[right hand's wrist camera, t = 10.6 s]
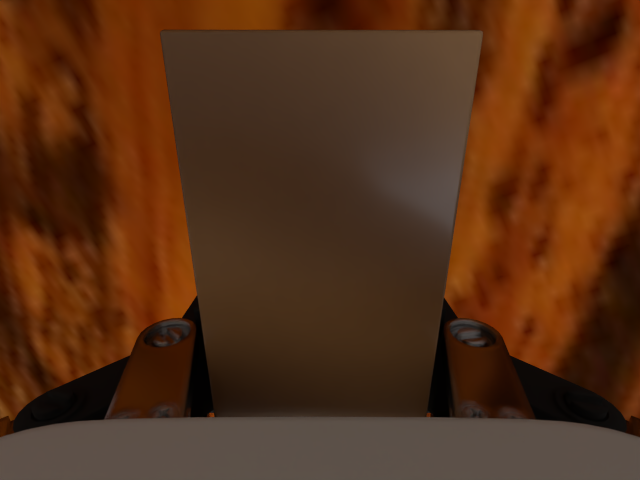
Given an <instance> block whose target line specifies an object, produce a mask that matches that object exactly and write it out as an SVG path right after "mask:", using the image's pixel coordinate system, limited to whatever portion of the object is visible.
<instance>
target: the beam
mask: <svg viewBox="0 0 640 480" xmlns="http://www.w3.org/2000/svg"><path fill="white" fill-rule="evenodd" d="M160 36H161V43H162V50H163V57H164V64H165V71H166V78H167V85H168V92H169V99H170V106H171V113H172V120H173V127H174V134H175V141H176V148H177V155H178V162H179V169H180V176H181V183H182V190H183V198H184V205H185V212H186V219H187V226H188V233H189V240H190V247H191V254H192V261H193V268H194V275H195V282H196V289H197V296H198V303H199V310H200V317H201V324H202V331H203V338H204V345H205V352H206V359H207V366H208V373H209V380H210V387H211V394H212V401H213V409H214V416H215V417H426V415H427V409H428V402H429V395H430V388H431V381H432V375H433V368H434V361H435V354H436V348H437V341H438V334H439V327H440V321H441V314H442V307H443V300H444V293H445V287H446V280H447V273H448V266H449V260H450V253H451V246H452V239H453V232H454V226H455V219H456V212H457V205H458V199H459V192H460V185H461V178H462V172H463V165H464V158H465V151H466V144H467V138H468V131H469V124H470V117H471V111H472V104H473V97H474V90H475V83H476V77H477V70H478V63H479V56H480V50H481V43H482V36H483V33H482V31H480V30H162V31H161V32H160Z"/></svg>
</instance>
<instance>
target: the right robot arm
mask: <svg viewBox="0 0 640 480" xmlns="http://www.w3.org/2000/svg"><path fill="white" fill-rule="evenodd" d="M209 413H214V409H213V401H212V394H211V387H210V380H209V373H208V366H207V359H206V352H205V345H204V338H203V331H202V324H201V317H200V310H199V303H198V296H196V298H195V299H194V301H193V302H192V304H191V305H190V307H189V308H188V310H187V311H186V313H185V314H184V316H183V317H182V318H171V319H166V320H162V321H159V322H157V323H154V324H152V325H150V326H149V327H147V328H146V329H145V330H143V331H142V332H141V333H140V335H139V336H138V338H137V340H136V343H135V345H134V348H133V350H132V352H131V355H130V356H128V357H125V358H123V359H121V360H119V361H116V362H114V363H112V364H109V365H107V366H105V367H103V368H100V369H98V370H96V371H94V372H91V373H89V374H87V375H84V376H82V377H80V378H78V379H75V380H73V381H71V382H69V383H66V384H64V385H62V386H59V387H57V388H55V389H53V390H50V391H48V392H46V393H44V394H43V395H41V396H39V397H37V398H36V399H34V400H33V401H31V402H30V403H29V404H27V405H26V406H25V407H24V408H23V409H22V410H21V411H20V412H19V413H18V415H17V417H16V418H15V420H13V421H10V419H9V416H6V417H4V418H1V419H0V480H640V419H639V418H636V417H634V416H631V418H630V420H629V421H627V420H625V419H624V417H623V415H622V414H621V412H620V411H619V410H618V409H617V408H616V407H615V406H614V405H613V404H611V403H610V402H608V401H607V400H605V399H604V398H603V397H601V396H599V395H597V394H596V393H594V392H592V391H590V390H587V389H585V388H583V387H580V386H578V385H576V384H574V383H571V382H569V381H567V380H564V379H562V378H560V377H558V376H555V375H553V374H551V373H549V372H546V371H544V370H542V369H539V368H537V367H535V366H533V365H530V364H528V363H526V362H523V361H521V360H519V359H517V358H514V357H512V356H510V355H509V352H508V350H507V348H506V345H505V343H504V340H503V338H502V336H501V335H500V333H499V332H498V331H497V330H495V329H494V328H493V327H491V326H490V325H488V324H486V323H483V322H481V321H478V320H474V319H469V318H457V316H456V315H455V313H454V312H453V310H452V309H451V307H450V306H449V304H448V303H447V301H446V300H445V298H444V300H443V307H442V314H441V321H440V327H439V334H438V341H437V348H436V354H435V361H434V368H433V375H432V381H431V388H430V395H429V402H428V409H427V413H431V416H430V417H210V416H209Z"/></svg>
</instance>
